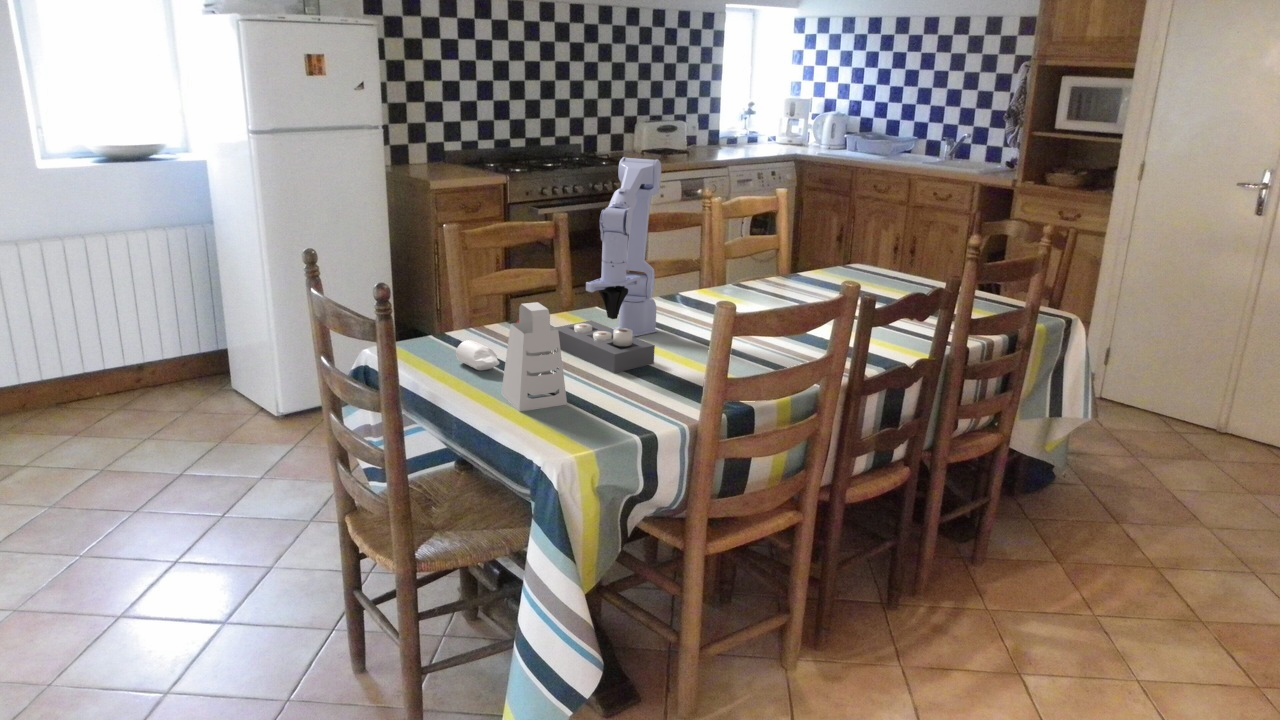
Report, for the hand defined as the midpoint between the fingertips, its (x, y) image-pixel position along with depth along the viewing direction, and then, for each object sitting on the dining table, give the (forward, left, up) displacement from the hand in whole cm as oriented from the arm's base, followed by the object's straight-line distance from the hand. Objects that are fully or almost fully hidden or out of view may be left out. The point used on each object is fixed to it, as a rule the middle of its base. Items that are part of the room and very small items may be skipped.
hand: (612, 317), depth 219 cm
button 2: (0, +4, -5) cm, 7 cm away
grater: (+30, +11, -10) cm, 34 cm away
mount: (0, -4, -10) cm, 11 cm away
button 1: (0, -11, -8) cm, 14 cm away
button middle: (0, -4, -8) cm, 9 cm away
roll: (+29, -11, -10) cm, 33 cm away
